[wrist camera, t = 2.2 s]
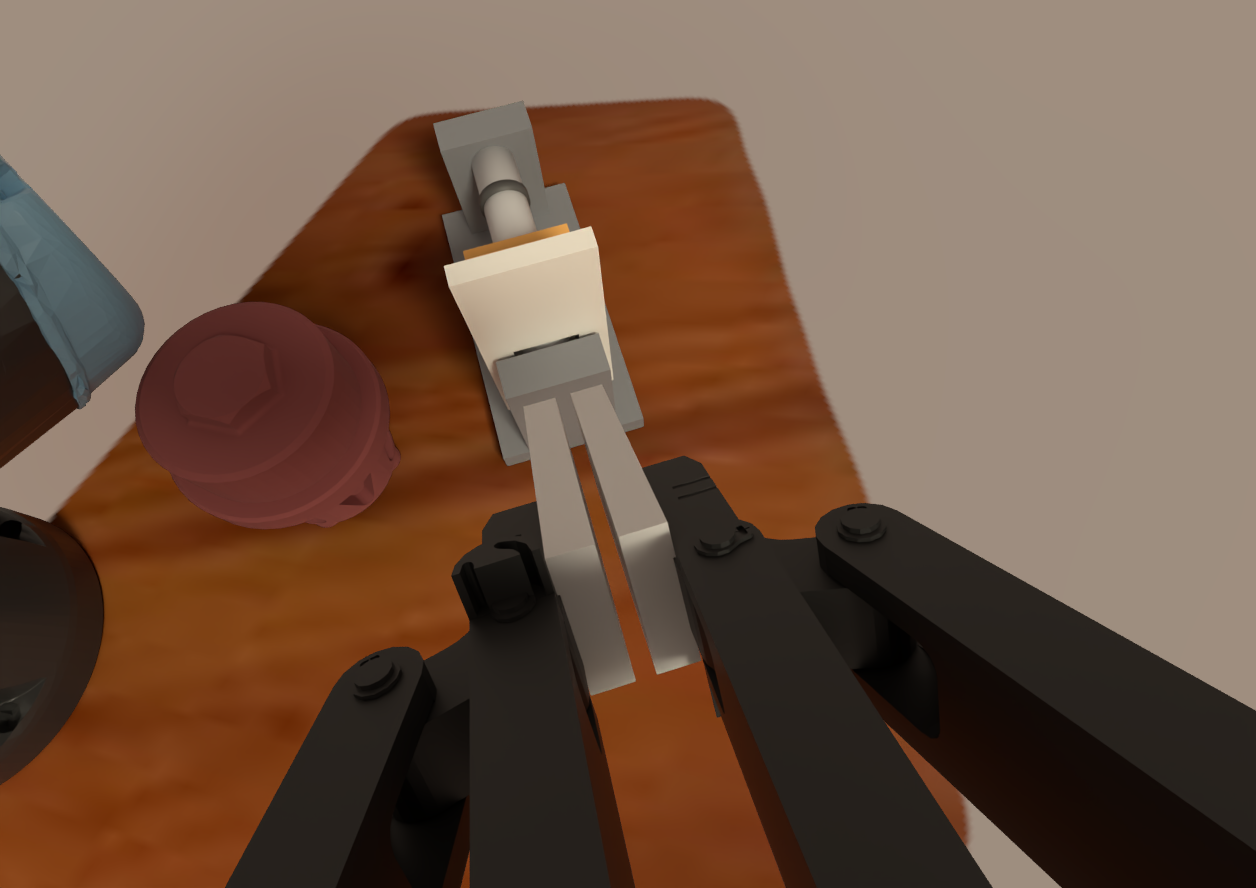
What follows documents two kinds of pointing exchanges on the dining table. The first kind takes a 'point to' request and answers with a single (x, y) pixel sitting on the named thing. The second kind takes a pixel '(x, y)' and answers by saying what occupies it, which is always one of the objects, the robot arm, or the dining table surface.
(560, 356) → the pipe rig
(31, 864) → the dining table surface
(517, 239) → the orange flat plate
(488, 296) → the sleeve
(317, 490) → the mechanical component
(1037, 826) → the robot arm
